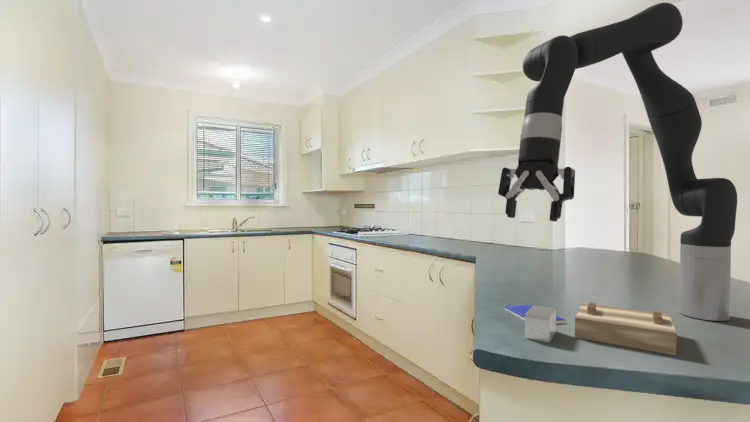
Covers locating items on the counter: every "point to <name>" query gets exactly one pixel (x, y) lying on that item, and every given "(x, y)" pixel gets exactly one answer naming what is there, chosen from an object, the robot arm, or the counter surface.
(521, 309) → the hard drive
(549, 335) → the panel
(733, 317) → the counter surface
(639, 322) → the drive stand
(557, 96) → the robot arm
